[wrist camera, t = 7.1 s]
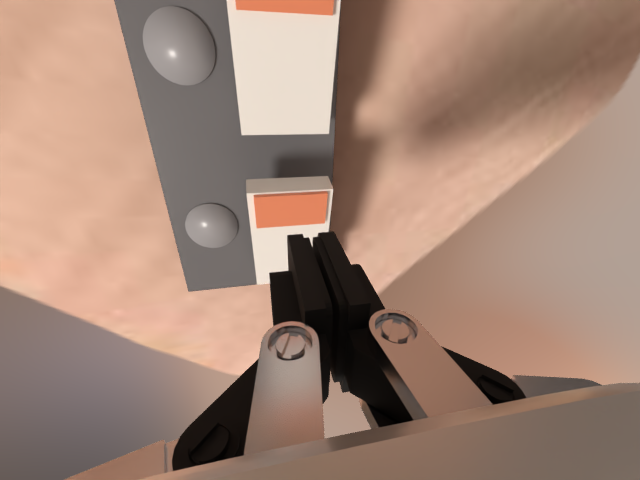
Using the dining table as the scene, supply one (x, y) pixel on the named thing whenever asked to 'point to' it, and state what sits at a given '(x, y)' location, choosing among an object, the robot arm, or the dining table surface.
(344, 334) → the robot arm
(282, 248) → the block
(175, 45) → the strip
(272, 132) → the rocker middle
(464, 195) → the dining table surface
